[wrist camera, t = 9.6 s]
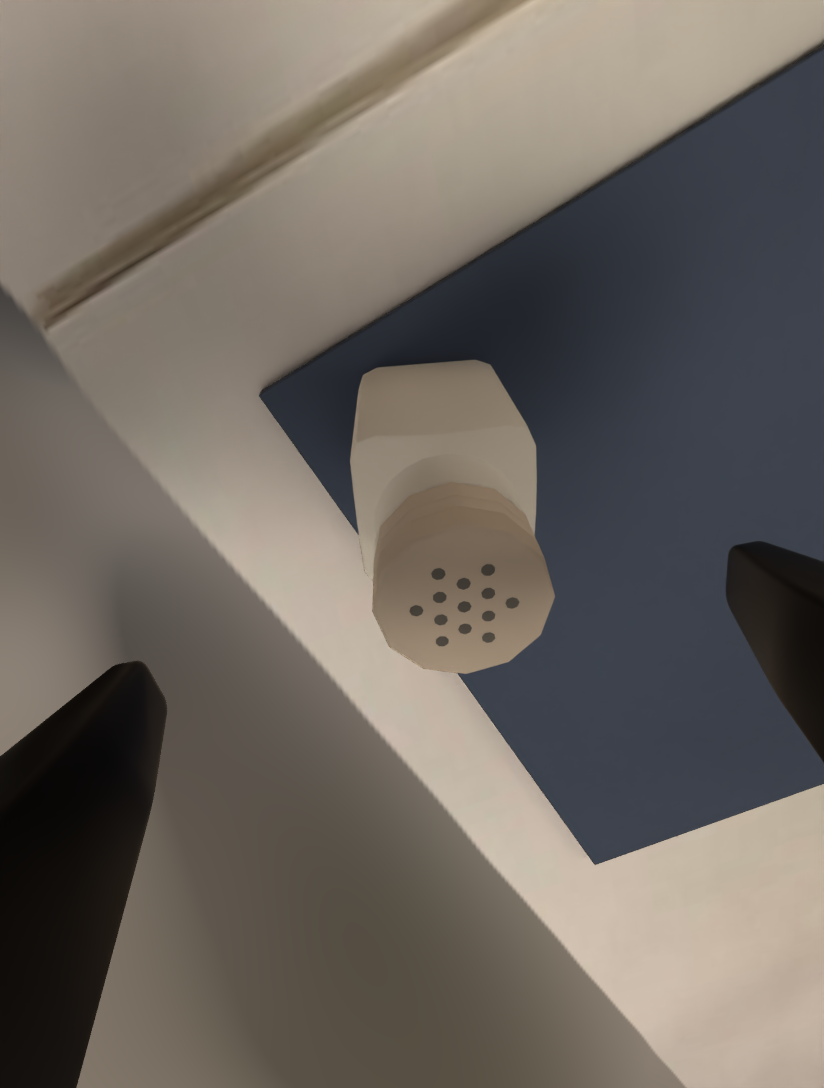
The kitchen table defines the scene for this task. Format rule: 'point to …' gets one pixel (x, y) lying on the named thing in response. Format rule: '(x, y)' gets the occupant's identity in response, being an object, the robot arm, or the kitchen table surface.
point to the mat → (641, 457)
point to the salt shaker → (448, 515)
